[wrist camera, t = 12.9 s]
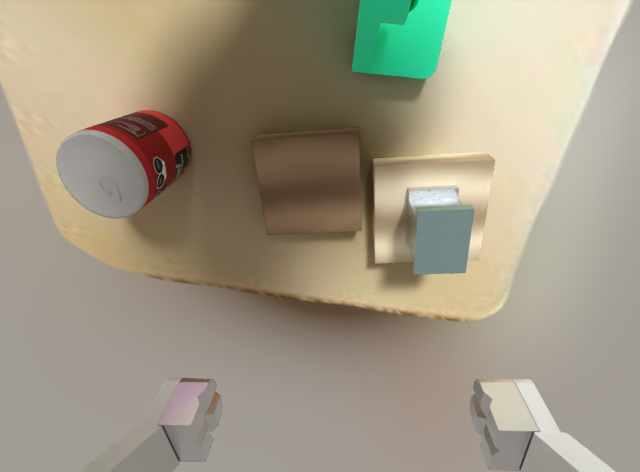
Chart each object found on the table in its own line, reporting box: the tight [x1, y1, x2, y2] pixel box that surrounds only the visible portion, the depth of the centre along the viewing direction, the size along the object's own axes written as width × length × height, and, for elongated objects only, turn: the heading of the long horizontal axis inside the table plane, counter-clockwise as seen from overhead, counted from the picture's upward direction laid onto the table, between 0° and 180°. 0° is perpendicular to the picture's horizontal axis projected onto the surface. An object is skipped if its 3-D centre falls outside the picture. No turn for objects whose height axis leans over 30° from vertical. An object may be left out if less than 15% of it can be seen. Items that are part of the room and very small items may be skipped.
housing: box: [405, 185, 475, 274], centre depth 36 cm, size 5×7×6 cm
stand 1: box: [251, 127, 362, 235], centre depth 39 cm, size 11×11×3 cm
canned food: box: [56, 110, 191, 218], centre depth 35 cm, size 8×8×11 cm
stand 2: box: [373, 152, 495, 263], centre depth 40 cm, size 12×12×3 cm
